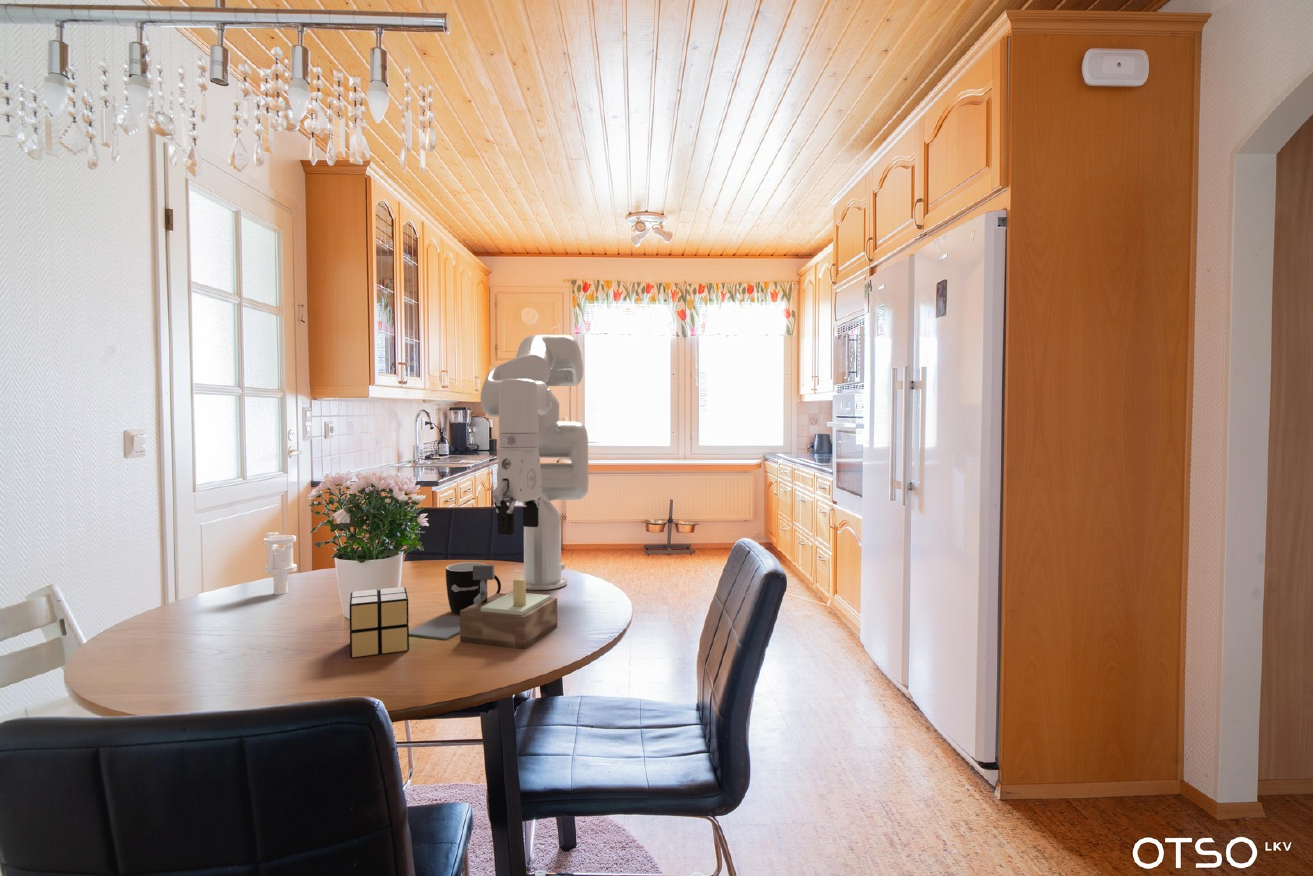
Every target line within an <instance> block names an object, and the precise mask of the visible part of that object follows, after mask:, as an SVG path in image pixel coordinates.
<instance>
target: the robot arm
mask: <svg viewBox="0 0 1313 876" xmlns="http://www.w3.org/2000/svg"><path fill="white" fill-rule="evenodd" d="M583 376H584V363H583V357H582V352H581V348H580V345H579V343H578V341H577V339H575V338H574V337H573V336H571V335H568V334H534V335H529V336H527V337H525V338H524V339H522V341H521V342H520V344H519V345H518V348H517V352H516V355H515V357H514V358H513V359H511V360H508V361H505V362H504V363H503V362H502V363H501V364H499V365H497V366H495V367H493V368H492V369H491V370H490V371H489V372H488V373H487V374H486V377H485V379H484V381H483V383H482V387H481V389H480V390H481V391H480V397H479V398H480V399H479V400H480V405H481V408H482V411H483V412H484V413H485V414H486V415H487V416H490V417H495V418H498V451H499V453H498V454H499V455H498V462H497V476H496V477H497V478H496V483H497V484H496V487H495V488H494V490H492V496H493V498H492V499H493V500H494V502H493V503H494V506H495V512H496V514H497V534H498V535H505V536H506V535H509V536H510V535H511V536H513V535H514V534H515V513H514V512H513V510H514V507H515V506H516V503H517V502H518V503H522V504H523V505H522V526H523V577H522V578H523V579H526V590H530V591H531V590H532V591H548V590H554V589H560V588H563V587H564V586H566V585H567V584H568V579H567V577H565V576H562V571H563V570H565V569H566V565H565V563H563V562H562V519H561V514H560V512H559V510H558V509H557V508H556V506H555V505H554V504H553V503H552V502H551V501H577V500H582V499H584V498H585V497H586V496H587V494H588V491H589V438H588V431H587V429H586V426H585V425H584V424H583V423H581V422H579V421H561V420H560V403H559V400H558V398H557V397H556V396H555V394H554V393H553V392H552V390H551V388H550V387H575V386H577V385H579V384H580V383H581V382H582V379H583ZM541 459H568V460H570V461H571V463H569V462H568V463H565V462H564V463H562V462H561V463H560V462H558V463H555V462H545V463H544V462H542V463H541Z"/></svg>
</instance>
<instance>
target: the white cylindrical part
mask: <svg viewBox="0 0 1313 876" xmlns="http://www.w3.org/2000/svg"><path fill="white" fill-rule="evenodd" d="M262 540H263V544H264V545H266V546H265V548H267V552H266V553H267V559H266V560H267V562H266V565H267V566H265V567H264V568H263V573H264V574H266V575H273V595H277V596H278V595H279V596H281V595H285V594H288V593H289V586H288V585H289V583H288V582H289V581H288V579H289V577H288V576H289V575H288V573H292V572H296V571H297V569H298V568H297V564H296V563H294V543H295V542H297V536H296V535H293V534H292V535H291V534H281V535H280V532H277V531H276V532H275V531H274V532H270V531H269V532H266V533H265V537H264V538H263V539H262ZM280 545H282V547H281V548H280Z"/></svg>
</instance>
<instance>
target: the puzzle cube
mask: <svg viewBox="0 0 1313 876" xmlns="http://www.w3.org/2000/svg"><path fill="white" fill-rule="evenodd" d="M409 619H410V618H409V596H408V591H407V588H406V587H405V586H399V587H398V586H397V587H389V588H388V587H387V588H380V589H365V590H355V591H352V592H351V593H350V599H349V654H350V656H349V657H350V658H351V659H357V658H365V657H371V656H373V657H374V656H379V655H380V654H381V655H388V654H397V653H404V652H408V651H409V650H410V636H409V630H410V625H409V622H410V621H409Z"/></svg>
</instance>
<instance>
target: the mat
mask: <svg viewBox="0 0 1313 876" xmlns="http://www.w3.org/2000/svg"><path fill="white" fill-rule="evenodd" d="M457 635H460V616H456V615H447V614H441V615H440V616H437V617H435V618H433V619H431V620H429V621H426V622H425V623H422V624H420V625H418V626H416V627H414V628H411V629H409V637H418V638H424V639H425V638H426V639H427V638H428V639H434V640H435V639H436V640H444V641H448V640H449V639H452V638H453V637H456V636H457Z"/></svg>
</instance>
